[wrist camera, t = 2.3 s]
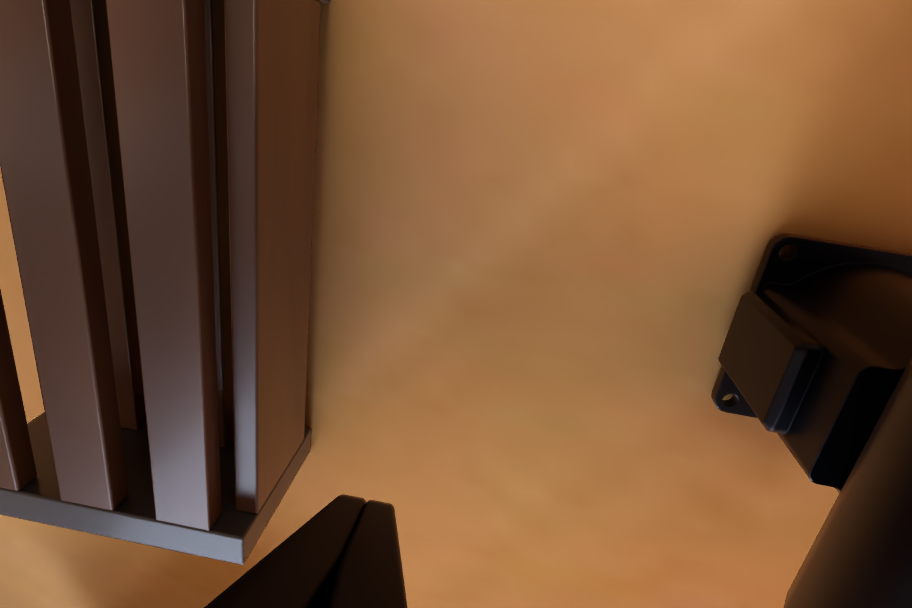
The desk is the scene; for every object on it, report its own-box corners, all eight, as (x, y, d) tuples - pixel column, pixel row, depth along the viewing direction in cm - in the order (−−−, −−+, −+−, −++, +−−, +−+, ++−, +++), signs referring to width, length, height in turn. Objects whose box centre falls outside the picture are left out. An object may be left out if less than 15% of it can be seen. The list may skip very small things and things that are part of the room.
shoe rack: (333, -41, 16) (233, -104, 11) (310, 451, 23) (243, 566, 18) (16, -86, 17) (-235, -169, 11) (87, 407, 24) (-46, 506, 18)
